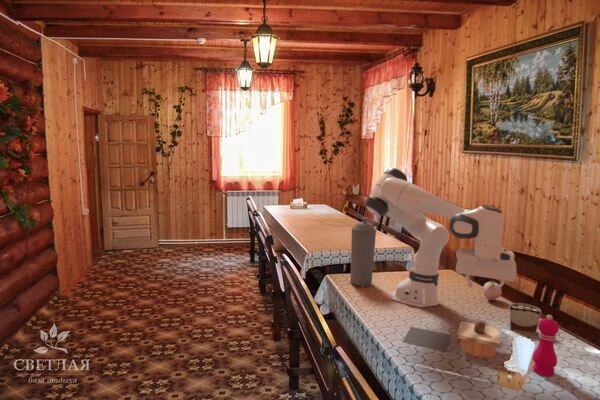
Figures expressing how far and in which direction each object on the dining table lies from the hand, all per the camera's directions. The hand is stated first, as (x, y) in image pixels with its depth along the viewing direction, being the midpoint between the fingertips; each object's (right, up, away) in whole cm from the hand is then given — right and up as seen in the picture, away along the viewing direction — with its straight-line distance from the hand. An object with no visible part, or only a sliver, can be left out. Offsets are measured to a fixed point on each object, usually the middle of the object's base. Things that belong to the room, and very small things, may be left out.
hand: (483, 288), depth 165 cm
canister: (-34, -12, +75) cm, 83 cm away
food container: (+25, -21, +23) cm, 40 cm away
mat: (-17, -22, +10) cm, 29 cm away
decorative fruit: (+26, -17, +56) cm, 64 cm away
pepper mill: (+15, -26, -11) cm, 32 cm away
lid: (-1, -17, +2) cm, 17 cm away
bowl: (-1, -23, +3) cm, 23 cm away
